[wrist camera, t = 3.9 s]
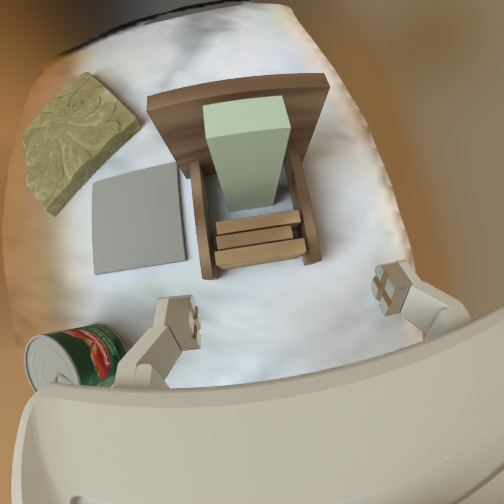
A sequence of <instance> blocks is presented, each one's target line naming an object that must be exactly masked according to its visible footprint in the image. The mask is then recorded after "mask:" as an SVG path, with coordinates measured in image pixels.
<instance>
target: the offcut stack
mask: <svg viewBox="0 0 504 504" xmlns="http://www.w3.org/2000/svg"><path fill="white" fill-rule="evenodd" d="M300 222H301V220H300V215H299V210H294V211H287V212H280V213H272V214H266V215H259V216H252V217H246V218H239V219H233V220H226V221H220V222H216V229H217V235H218V237H216V242H217V249H218V251H216V252H214V253H215V260H216V265H217V266H218V267H220V268H222V269H223V270H225V269H232V268H238V267H245V266H251V265H258V264H264V263H270V262H277V261H283V260H289V259H295V258H297V257H299V256H300V255H302V254H303V253H305V252H306V246H305V240H304V238H300V239H294V240H292V239H293V234H292V232H293V231H295V229H296V228H297V226H298V225H299V224H300Z"/></svg>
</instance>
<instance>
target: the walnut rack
mask: <svg viewBox="0 0 504 504" xmlns="http://www.w3.org/2000/svg"><path fill="white" fill-rule="evenodd" d="M329 89H330V86H329V83H328V81H327V79H326V76H325V74H324V73H297V74H275V75H262V76H252V77H243V78H235V79H227V80H221V81H214V82H209V83H203V84H198V85H193V86H188V87H183V88H179V89H174V90H170V91H166V92H162V93H158V94H154V95H151V96H147V113H148V115H149V116H150V118H151V120H152V121H153V123H154V125H155V127H156V128H157V130H158V132H159V133H160V135H161V137H162V138H163V140H164V142H165V144H166V145H167V147H168V149H169V150H170V152H171V154H172V155H173V157H174V159H175V160H176V162H177V164H178V165H179V167H180V169H181V170H182V172H183V174H184V175H185V177H186V179H188V178H191V186H192V197H193V207H194V216H195V225H196V234H197V242H198V250H199V258H200V265H201V273H202V279H205V280H214V279H218V275H217V268H216V261H215V254H214V246H213V239H212V231H211V223H210V215H209V207H208V199H207V190H206V181H205V175H210V174H216V173H217V172H216V169H215V166H214V163H213V160H212V157H211V153H210V150H209V147H208V144H207V141H206V135H205V125H204V114H203V106H204V105H210V104H215V103H221V102H228V101H235V100H242V99H251V98H260V97H270V96H282V98H283V101H284V105H285V108H286V112H287V115H288V119H289V122H290V126H291V129H290V134H289V138H288V143H287V147H286V151H285V156H284V160H283V164H284V165H285V170H286V174H287V179H288V183H289V188H290V193H291V198H292V203H293V208H294V210H299V215H300V220H301V222H300V224H299V225H298V226H297V228H298V234H299V239H300V238H304V240H305V246H306V252H305V253H303V254H302V256H303V262H304V265H309V264H314V263H316V262H319V261H321V254H320V249H319V244H318V238H317V233H316V228H315V223H314V218H313V213H312V208H311V204H310V199H309V195H308V190H307V186H306V181H305V177H304V173H303V169H302V164H301V162H303V159H304V156H305V154H306V151H307V148H308V146H309V143H310V140H311V138H312V135H313V132H314V130H315V127H316V124H317V121H318V119H319V116H320V113H321V111H322V108H323V105H324V102H325V100H326V97H327V94H328V91H329Z"/></svg>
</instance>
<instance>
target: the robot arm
mask: <svg viewBox="0 0 504 504" xmlns="http://www.w3.org/2000/svg"><path fill="white" fill-rule="evenodd" d="M375 274H376V276H375V277H374V278H373V280H372V292H373V295H374V297H375V299H377V300H378V301H380V304H379V306H380V308H381V310H382V312H383V314H384V316H388V315H393V314H397V313H400V314H401V315H402V316H404V317H405V318H406V319H407V320H409V321H410V322H411V323H412V324H414V325H415V326H416V327H417V328H419V329H420V330H421V331H422V332H424V333H425V334H426V337H425V338H424V340H423V341H422V342H419V343H416V344H413V345H411V346H408V347H405V348H402V349H399V350H396V351H393V352H390V353H386V354H383V355H380V356H376V357H373V358H370V359H366V360H362V361H359V362H355V363H351V364H347V365H343V366H339V367H335V368H331V369H326V370H322V371H317V372H312V373H307V374H302V375H297V376H292V377H286V378H280V379H274V380H267V381H260V382H252V383H244V384H235V385H225V386H213V387H199V388H176V389H170V388H169V386H168V385H167V384H166V383H165V382H164V380H165V378H166V377H167V375H168V373H169V372H170V370H171V369H172V367H173V366H174V364H175V362H176V361H177V359H178V358H179V356H180V354H181V353H182V351H184V350H194V349H201V335H200V333H199V330H200V329H201V316H200V312H199V309H198V307H197V306H195V298H194V296H193V295H182V296H171V297H162V298H159V299H158V301H157V306H156V312H155V317H154V322H153V327H150V328H149V329H148V330H147V331H146V332H145V333H144V334H143V335H142V337H141V338H140V339H139V340H138V341H137V342H136V343H135V345H134V346H133V347H132V348H131V349H130V350H129V351H128V352H127V354H126V355H125V356H124V357H123V358H122V359H121V360H120V362H119V363H118V366H117V371H116V377H115V382H114V388H110V387H96V386H85V385H76V384H68V383H61V382H53V381H51V382H47V383H46V384H45V385H43V386H42V387H41V388H40V389H39V390H38V391H37V392H36V393H35V394H34V395H33V396H32V397H31V399H30V400H29V401H28V402H27V404H26V406H25V408H24V411H23V414H22V417H21V421H20V425H19V429H18V433H17V438H16V444H15V450H14V457H13V467H12V504H504V305H502V306H500V307H498V308H496V309H495V310H493V311H491V312H489V313H487V314H485V315H483V316H481V317H479V318H477V319H474V320H472V318H471V317H470V315H469V313H468V312H467V310H466V309H465V307H464V306H463V304H462V303H461V302H460V301H458V300H456V299H454V298H453V297H451V296H449V295H448V294H446V293H444V292H442V291H440V290H439V289H437V288H435V287H433V286H431V285H429V284H428V283H426V282H422V281H421V280H420V279H419V277H418V276H417V274H416V273H415V271H414V270H413V269H412V267H411V266H410V265H409V263H408V262H407V261H406V260H400V261H396V262H391V263H386V264H381V265H377V267H376V268H375Z"/></svg>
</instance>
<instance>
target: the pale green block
mask: <svg viewBox="0 0 504 504" xmlns="http://www.w3.org/2000/svg"><path fill="white" fill-rule="evenodd" d="M203 114H204V125H205V135H206V141H207V144H208V147H209V150H210V153H211V157H212V160H213V163H214V166H215V169H216V172H217V176H218V179H219V182H220V185H221V188H222V191H223V194H224V198H225V201H226V204H227V207H228V210H229V212H233V211H239V210H246V209H252V208H259V207H266V206H273V204H274V199H275V195H276V191H277V186H278V182H279V178H280V173H281V169H282V165H283V160H284V156H285V151H286V147H287V143H288V138H289V134H290V129H291V126H290V122H289V119H288V115H287V112H286V108H285V105H284V101H283V98H282V96H270V97H260V98H251V99H242V100H235V101H228V102H221V103H215V104H210V105H204V106H203Z"/></svg>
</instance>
